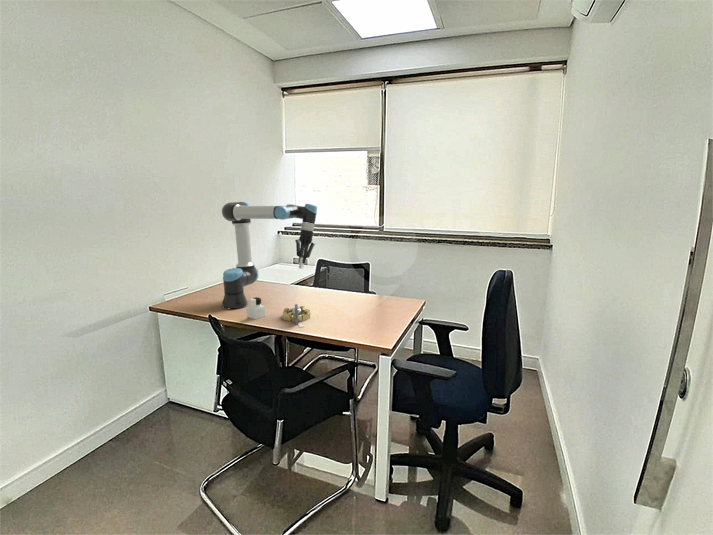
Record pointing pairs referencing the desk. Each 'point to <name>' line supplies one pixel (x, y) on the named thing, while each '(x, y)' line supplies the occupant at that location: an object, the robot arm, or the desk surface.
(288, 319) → the block with gold ring
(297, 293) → the desk surface
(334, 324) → the desk surface
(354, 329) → the desk surface
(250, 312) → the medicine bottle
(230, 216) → the robot arm
